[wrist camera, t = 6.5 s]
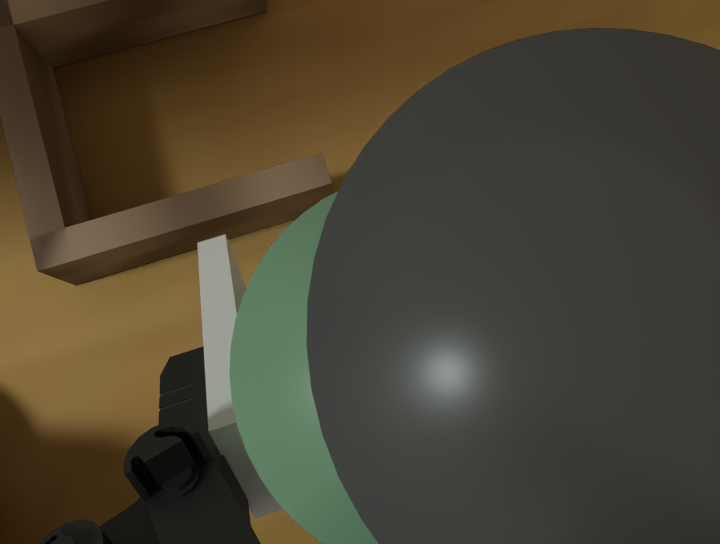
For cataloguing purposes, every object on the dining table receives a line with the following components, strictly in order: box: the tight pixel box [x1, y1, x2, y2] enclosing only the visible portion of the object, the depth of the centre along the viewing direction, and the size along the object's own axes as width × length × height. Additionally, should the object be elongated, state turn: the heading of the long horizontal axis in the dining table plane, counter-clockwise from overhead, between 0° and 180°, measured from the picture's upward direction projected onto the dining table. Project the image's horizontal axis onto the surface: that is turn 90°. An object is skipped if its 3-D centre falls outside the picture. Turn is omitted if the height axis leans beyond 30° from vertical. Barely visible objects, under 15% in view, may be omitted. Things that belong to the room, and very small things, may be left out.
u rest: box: [0, 0, 332, 285], centre depth 23 cm, size 10×10×3 cm
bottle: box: [229, 28, 720, 544], centre depth 13 cm, size 6×6×20 cm
